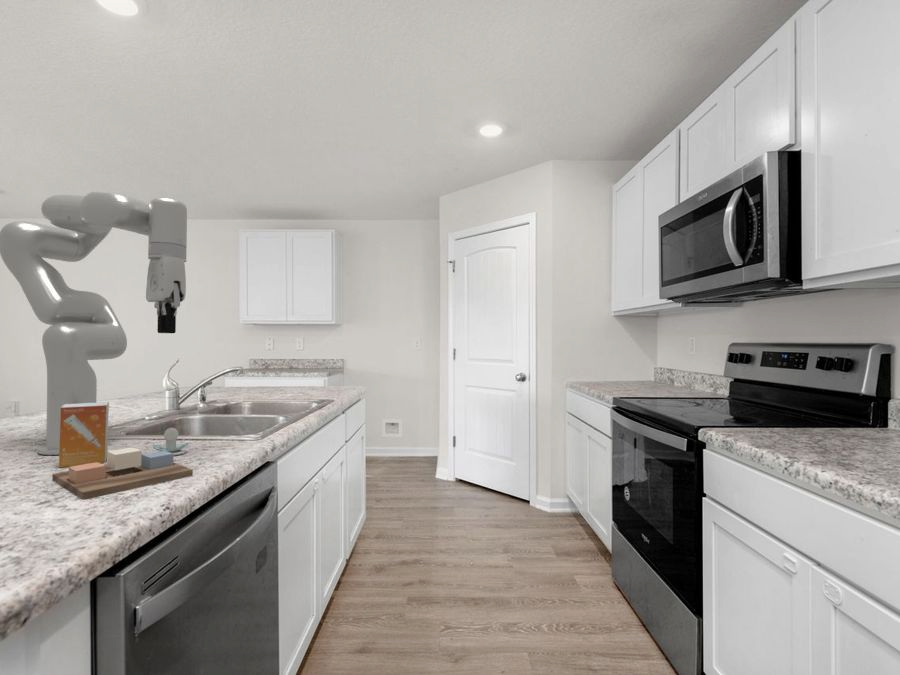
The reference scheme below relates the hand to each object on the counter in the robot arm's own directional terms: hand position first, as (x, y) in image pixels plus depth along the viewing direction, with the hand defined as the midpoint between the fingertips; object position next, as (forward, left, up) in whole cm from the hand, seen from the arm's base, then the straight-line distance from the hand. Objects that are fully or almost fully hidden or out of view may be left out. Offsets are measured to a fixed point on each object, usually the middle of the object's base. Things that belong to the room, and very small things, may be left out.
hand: (166, 332), depth 105 cm
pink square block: (+9, -17, -29) cm, 34 cm away
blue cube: (+9, -5, -29) cm, 30 cm away
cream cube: (+9, -11, -27) cm, 30 cm away
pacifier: (-4, +3, -30) cm, 30 cm away
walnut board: (+9, -11, -29) cm, 32 cm away
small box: (-11, -12, -29) cm, 34 cm away
